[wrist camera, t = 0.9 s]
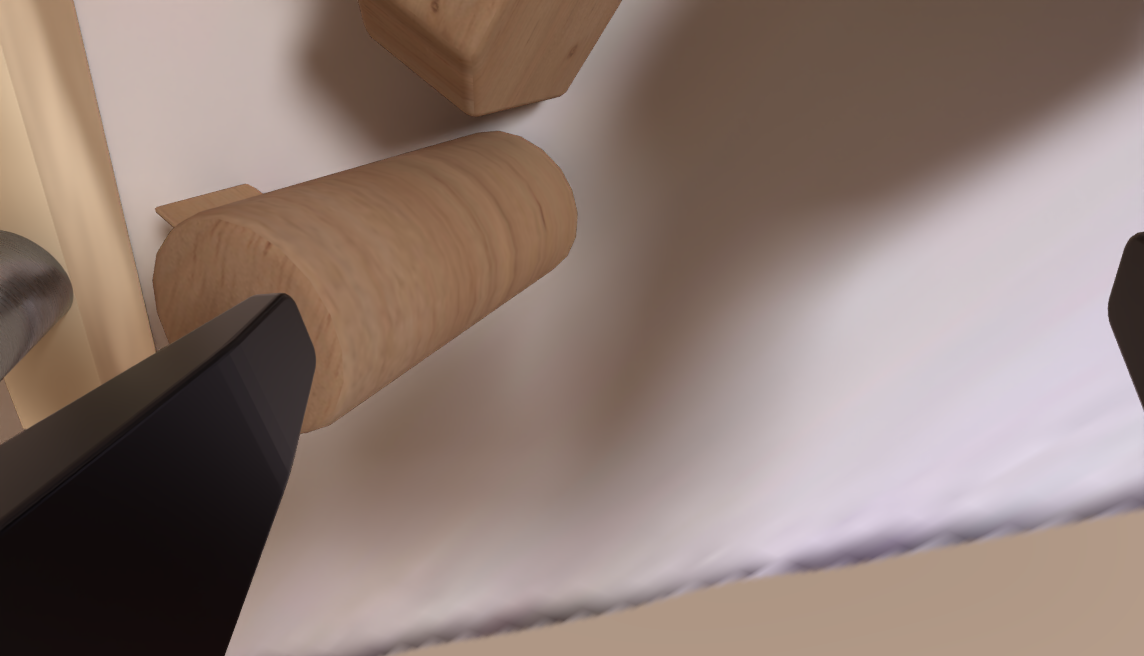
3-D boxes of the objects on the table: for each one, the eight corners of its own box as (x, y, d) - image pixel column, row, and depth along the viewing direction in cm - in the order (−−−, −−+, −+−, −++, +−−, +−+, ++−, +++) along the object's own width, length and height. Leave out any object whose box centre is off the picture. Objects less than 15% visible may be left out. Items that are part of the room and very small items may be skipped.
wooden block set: (528, -381, 18) (121, -762, 9) (848, -145, 17) (752, -306, 8) (259, 242, 27) (-74, 361, 18) (459, 413, 26) (214, 625, 17)
